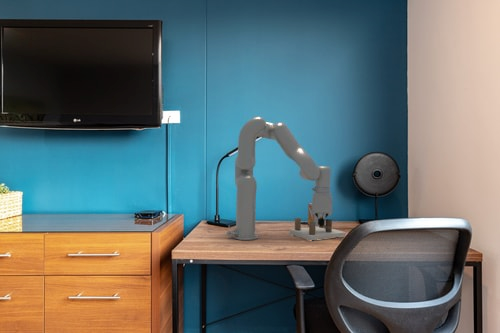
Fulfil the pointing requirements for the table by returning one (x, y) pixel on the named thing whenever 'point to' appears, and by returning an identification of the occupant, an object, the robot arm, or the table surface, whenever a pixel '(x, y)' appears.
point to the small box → (312, 217)
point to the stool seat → (314, 231)
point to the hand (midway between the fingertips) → (320, 226)
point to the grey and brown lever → (328, 225)
